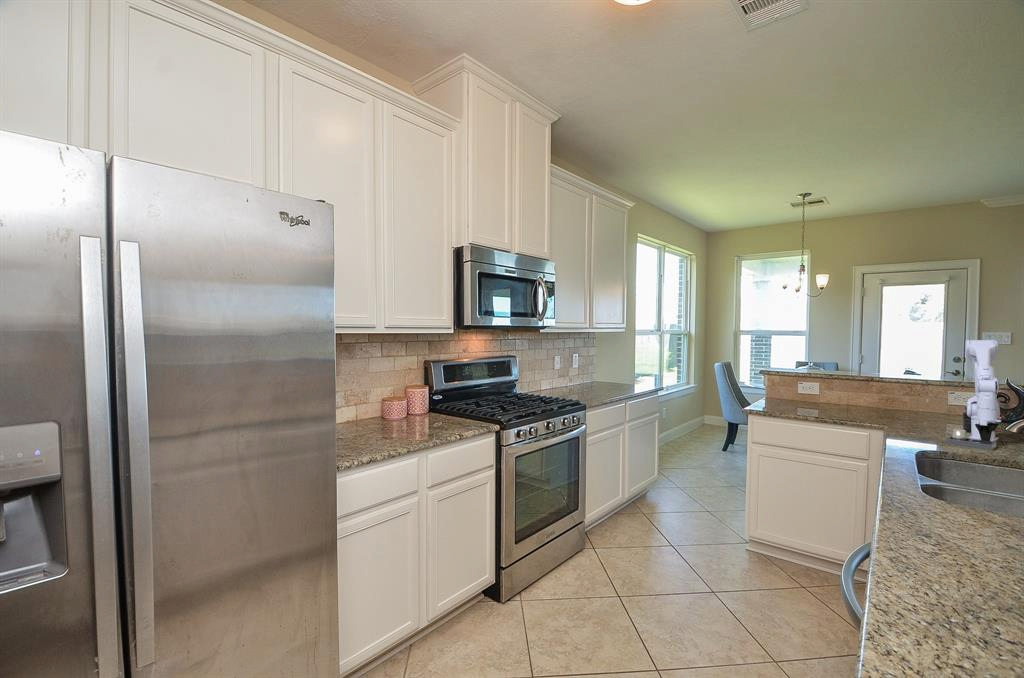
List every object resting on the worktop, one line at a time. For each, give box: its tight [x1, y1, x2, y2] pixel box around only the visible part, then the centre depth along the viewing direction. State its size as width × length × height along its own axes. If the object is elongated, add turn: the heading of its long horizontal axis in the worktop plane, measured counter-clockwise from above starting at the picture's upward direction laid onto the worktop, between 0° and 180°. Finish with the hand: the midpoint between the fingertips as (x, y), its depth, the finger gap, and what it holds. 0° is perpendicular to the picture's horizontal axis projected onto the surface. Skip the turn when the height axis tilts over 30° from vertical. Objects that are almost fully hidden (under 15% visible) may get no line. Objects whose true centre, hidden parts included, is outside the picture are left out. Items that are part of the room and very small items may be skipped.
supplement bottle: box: [962, 406, 971, 434], centre depth 212 cm, size 7×7×12 cm
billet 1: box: [952, 428, 967, 441], centre depth 185 cm, size 4×4×6 cm
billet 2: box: [980, 431, 995, 442], centre depth 186 cm, size 4×4×6 cm
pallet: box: [945, 435, 997, 451], centre depth 183 cm, size 9×13×2 cm
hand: (987, 441), depth 186 cm, fingers open, 5 cm apart
